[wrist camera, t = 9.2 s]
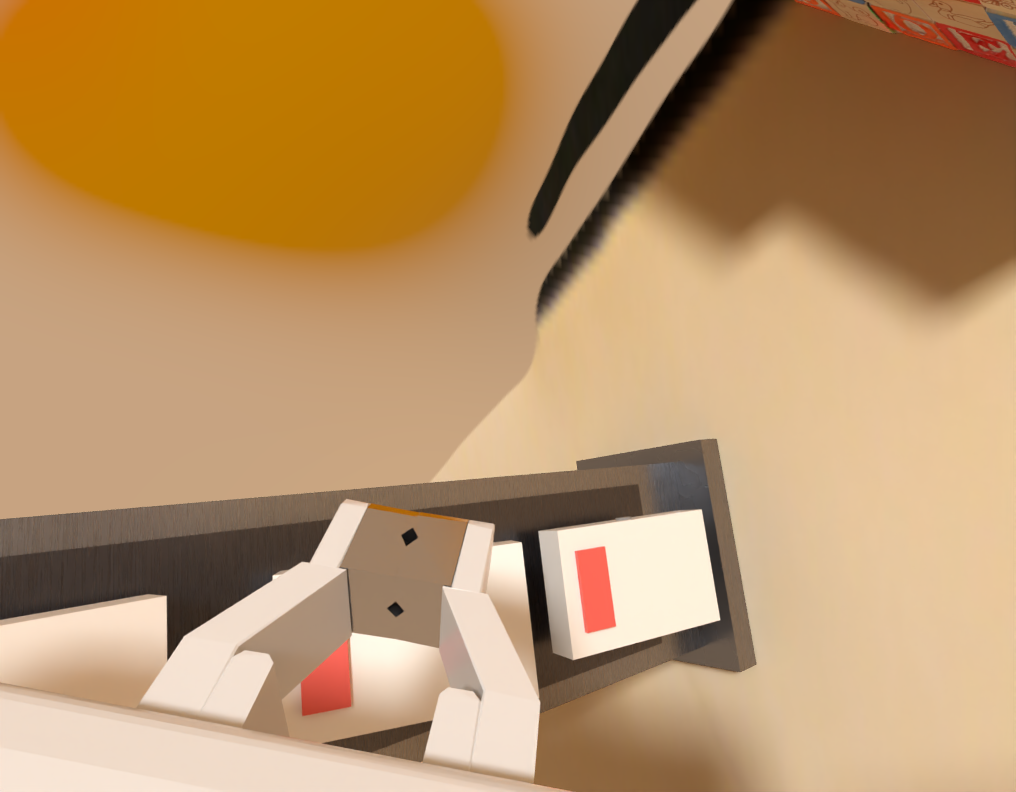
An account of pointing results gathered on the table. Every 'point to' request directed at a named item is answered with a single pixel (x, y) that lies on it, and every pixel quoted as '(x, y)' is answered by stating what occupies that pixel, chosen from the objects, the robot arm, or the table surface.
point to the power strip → (306, 517)
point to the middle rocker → (400, 669)
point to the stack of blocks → (939, 22)
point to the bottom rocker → (626, 581)
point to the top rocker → (88, 649)
